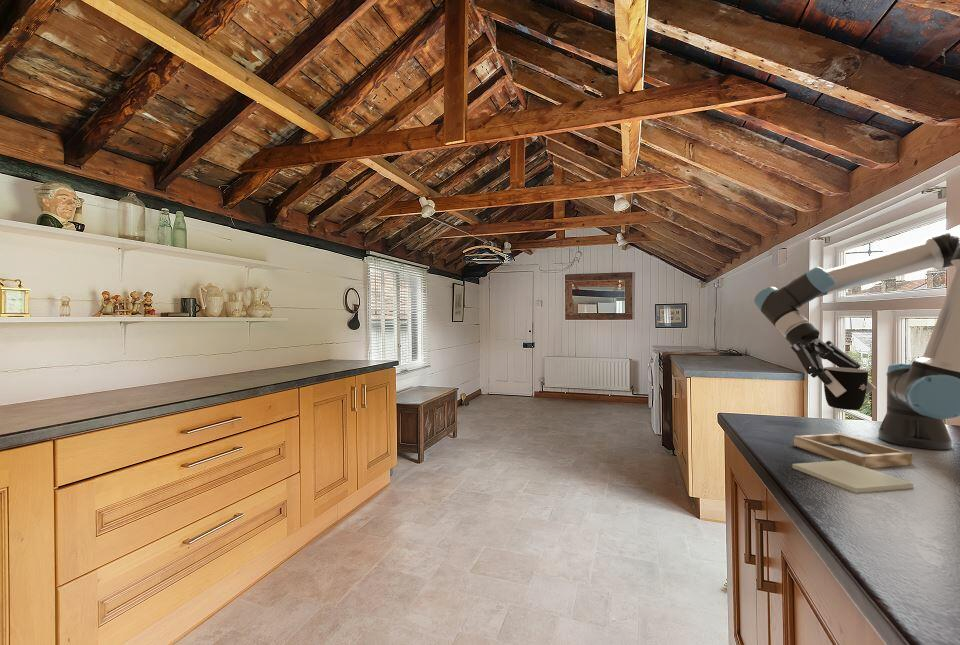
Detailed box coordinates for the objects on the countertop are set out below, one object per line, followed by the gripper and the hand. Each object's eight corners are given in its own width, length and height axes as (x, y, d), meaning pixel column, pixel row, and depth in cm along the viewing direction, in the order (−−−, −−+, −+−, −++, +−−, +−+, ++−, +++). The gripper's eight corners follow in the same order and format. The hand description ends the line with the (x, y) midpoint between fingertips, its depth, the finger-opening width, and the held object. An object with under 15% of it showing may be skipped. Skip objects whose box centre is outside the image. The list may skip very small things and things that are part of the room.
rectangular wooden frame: (839, 442, 125) (839, 433, 125) (912, 464, 107) (912, 453, 107) (793, 445, 123) (794, 436, 123) (861, 468, 105) (861, 457, 105)
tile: (843, 464, 108) (843, 460, 108) (913, 488, 93) (913, 483, 93) (792, 467, 105) (792, 463, 105) (855, 493, 90) (855, 488, 90)
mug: (863, 413, 107) (865, 373, 107) (818, 406, 114) (819, 368, 113) (871, 406, 115) (872, 368, 114) (828, 400, 122) (830, 365, 121)
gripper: (815, 337, 132) (873, 397, 118) (759, 339, 124) (814, 403, 110) (834, 321, 127) (898, 381, 113) (777, 321, 119) (837, 386, 105)
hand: (856, 392), depth 112 cm, fingers closed on mug, 11 cm apart
